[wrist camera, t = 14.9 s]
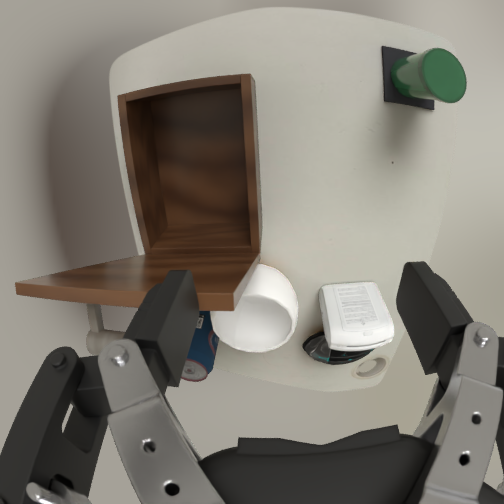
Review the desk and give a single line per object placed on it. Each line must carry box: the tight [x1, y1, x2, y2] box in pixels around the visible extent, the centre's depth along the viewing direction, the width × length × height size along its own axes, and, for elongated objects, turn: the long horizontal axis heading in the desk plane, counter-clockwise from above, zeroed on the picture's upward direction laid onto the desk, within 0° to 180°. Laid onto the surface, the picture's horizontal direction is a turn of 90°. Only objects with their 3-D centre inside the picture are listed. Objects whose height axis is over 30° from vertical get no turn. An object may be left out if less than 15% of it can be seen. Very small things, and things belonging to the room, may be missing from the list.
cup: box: [210, 264, 298, 352], centre depth 41 cm, size 12×12×10 cm
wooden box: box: [117, 74, 262, 254], centre depth 32 cm, size 20×14×8 cm
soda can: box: [181, 311, 219, 382], centre depth 44 cm, size 7×7×12 cm
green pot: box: [391, 48, 467, 103], centre depth 23 cm, size 6×6×9 cm
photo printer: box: [318, 282, 394, 351], centre depth 39 cm, size 10×4×12 cm, turn 96°
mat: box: [382, 46, 434, 110], centre depth 27 cm, size 8×8×1 cm
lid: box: [15, 253, 260, 355], centre depth 23 cm, size 21×14×5 cm
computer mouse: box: [303, 331, 375, 365], centre depth 47 cm, size 9×17×6 cm, turn 90°
